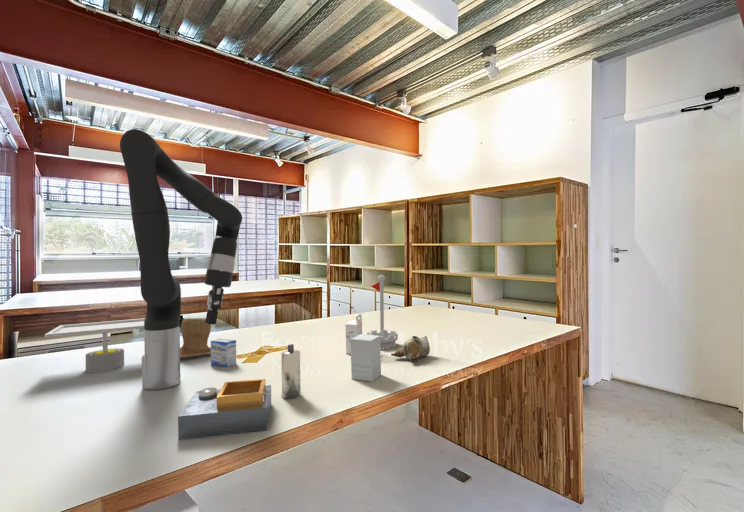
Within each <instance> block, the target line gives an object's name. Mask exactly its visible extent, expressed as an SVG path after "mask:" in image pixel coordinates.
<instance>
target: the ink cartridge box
mask: <svg viewBox="0 0 744 512" xmlns="http://www.w3.org/2000/svg"><path fill="white" fill-rule="evenodd" d="M355 318H356V319H353V320H349V321H348V322H347V323H345V354H346V355H351V339H352V338H354V337H356V336H358V335H360V334H363V317H362V313H359V314H358V315H356V317H355Z"/></svg>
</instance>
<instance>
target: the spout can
mask: <svg viewBox="0 0 744 512" xmlns="http://www.w3.org/2000/svg"><path fill="white" fill-rule="evenodd" d="M294 345H295V344H287V350H283V351H282V352H281V354H280V355H281V357H280V359H281V398H282V399H283V400H296V399H298V398H300V397H301V396H302V395H301V394H302V393H301V389H302V388H301V387H302V386H301V351H300V350H298V349H294V348H295V346H294Z"/></svg>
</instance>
